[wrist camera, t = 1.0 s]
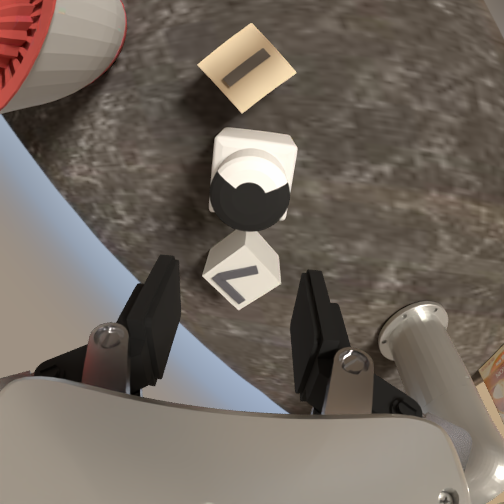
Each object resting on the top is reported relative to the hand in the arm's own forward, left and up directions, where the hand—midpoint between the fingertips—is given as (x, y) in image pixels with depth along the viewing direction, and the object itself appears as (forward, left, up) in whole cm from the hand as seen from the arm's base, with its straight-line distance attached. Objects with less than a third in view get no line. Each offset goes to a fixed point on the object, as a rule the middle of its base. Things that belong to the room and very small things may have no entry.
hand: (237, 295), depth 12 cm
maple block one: (+8, -6, -23) cm, 26 cm away
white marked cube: (-8, +8, -23) cm, 26 cm away
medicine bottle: (0, 0, -24) cm, 24 cm away
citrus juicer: (+26, +4, -24) cm, 35 cm away
